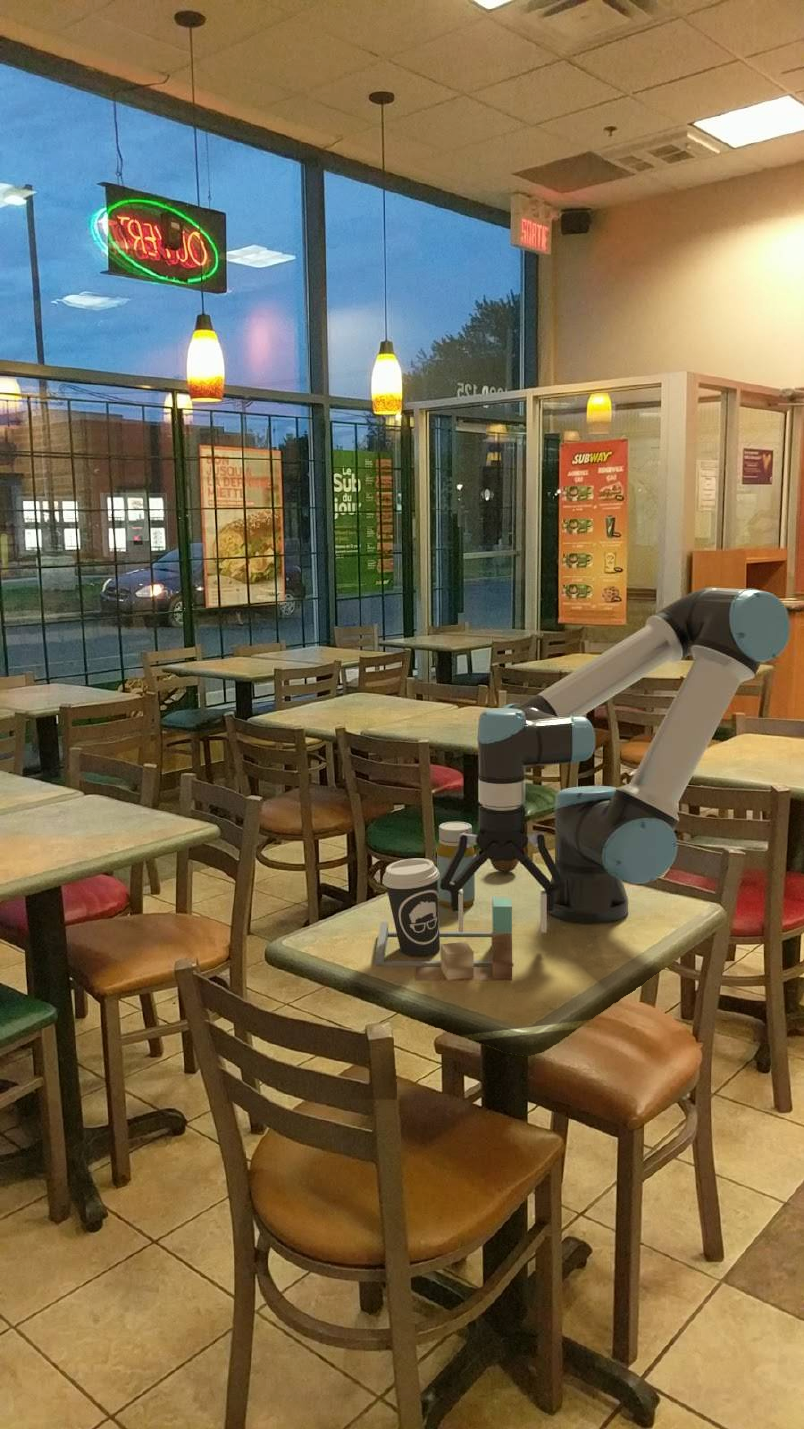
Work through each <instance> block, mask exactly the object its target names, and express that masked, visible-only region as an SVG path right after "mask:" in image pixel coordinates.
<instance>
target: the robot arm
mask: <svg viewBox="0 0 804 1429" xmlns="http://www.w3.org/2000/svg"><path fill="white" fill-rule="evenodd" d="M790 636H791V620H790V618H789V612H788V609H787V607H786V606H785V604H784V602H782V600H781V599H780V598H779V597H777V595H775V594H773V593H771V592H769V591H764V590H759V589H757V588H743V589H742V588H725V587H719V586H717V587H716V586H715V587H714V586H713V587H711V586H709V587H706V588H701V589H698V590H696V591H693V592H690V593H688V594H686V595H685V596H683V597H681V598H678V599H677V600H675V601H674V602H671V603H670V604H668V605H667V606H665V607H664V608H662V609H661V610H659V611H657V612H655V613H654V614H652V615H651V616H649V617H648V618H647V619H646V621H645V625H644V627H641V628H640V629H639V630H637V631H635V632H634V633H633V634H631V635H630V636H628V637H626V638H625V639H622V641H620V642H618V643H617V644H615V645H614V646H611V648H609V649H607V650H606V651H603V653H601V654H599V655H598V656H596V657H595V658H593V659H591V660H590V661H588V662H587V663H585V664H583V665H581V667H579V668H577V669H576V670H574V671H572V672H570V674H568V675H566V676H564V677H563V678H562V679H560V680H558V681H557V682H555V683H553V684H551V685H550V686H549V687H547V688H546V689H544V690H542V691H541V692H539V693H538V694H536V695H535V696H533V697H531V698H530V699H528V700H526V701H525V702H523V703H518V702H517V703H508V704H506V705H504V706H502V707H498V708H495V707H494V708H489V709H485V710H484V711H483V712H481V713H480V715H479V717H478V724H477V725H478V726H477V737H476V738H477V740H476V741H477V748H478V749H477V750H478V751H477V752H478V758H477V759H478V784H477V785H478V789H477V790H478V794H477V795H478V803H479V804H480V805H479V806H478V831H477V834H473V833H472V834H467V833H466V832H464V831H463V832H461V833H460V838H459V845H458V847H457V849H456V851H455V853H454V855H453V857H452V859H451V861H450V863H449V865H448V867H447V869H446V871H445V873H444V875H443V877H442V879H441V881H440V888H441V889H442V890H448V891H449V892H450V893H451V911H452V912H457V913H458V917H457V918H458V932H464V907H463V889H461V888H462V887H463V886H464V885H465V884H466V882H467V881H468V880H469V879H470V878H471V877H472V876H473V874H474V873H477V871H478V870H479V868H480V867H482V866H483V865H485V863H486V862H487V861H488V860H490V861H491V860H492V861H493V862H498V861H501V860H503V861H507V862H512V860H514V859H516V858H517V859H518V863H520V864H521V865H523V867H524V868H525V869H526V870H527V871H528V873H529V874H530V875H531V876H532V877H533V878H534V879H535V880H536V882H537V883H538V884H539V885H540V886H541V887H542V888H540V930H541V933H547V926H548V925H547V918H548V917H547V915H548V914H549V915H550V916H551V917H554V918H557V919H558V920H562V921H567V922H571V923H577V924H578V923H579V924H603V923H605V924H606V923H610V922H615V921H618V920H621V919H623V918H625V917H626V916H627V915H628V913H629V898H628V895H627V891H626V888H625V885H624V883H623V882H624V881H625V882H627V883H631V884H634V885H635V884H637V885H638V884H639V885H640V884H641V885H642V884H646V883H650V882H653V881H656V880H658V879H659V878H661V877H662V876H664V875H665V873H667V871H669V869H670V868H671V867H672V865H673V863H674V862H675V860H676V856H677V854H678V848H679V847H678V844H677V840H678V838H677V835H676V833H675V829H676V827H677V826H678V823H679V821H680V817H679V815H678V814H679V813H678V811H677V806H678V803H679V802H680V800H681V798H682V796H683V794H684V792H685V790H686V788H687V786H688V785H689V782H690V781H691V779H692V776H694V773H695V771H696V769H697V767H698V766H699V763H700V761H701V760H702V757H703V756H704V754H705V752H706V750H707V748H708V746H709V744H710V742H711V740H712V738H713V737H714V735H715V733H716V730H717V729H718V727H719V725H720V724H721V721H722V719H723V717H724V716H725V713H726V712H727V709H728V708H729V706H730V704H731V702H732V700H733V698H734V697H735V695H736V692H737V691H738V688H739V686H740V685H741V683H743V682H747V681H749V680H752V679H754V678H755V676H756V674H757V672H758V670H759V669H760V667H761V665H762V663H765V662H768V661H771V660H772V659H776V658H777V657H779V656H780V655H781V654H782V653H783V651H784V650H785V649H786V647H787V646H788V643H789V640H790ZM691 655H692V658H693V662H692V664H691V666H690V668H689V670H688V671H687V673H686V676H685V677H684V679H683V681H682V683H681V685H680V686H679V688H678V690H677V692H676V694H675V696H674V698H673V700H672V702H671V704H670V706H669V708H668V710H667V712H666V713H665V714H664V715H665V716H664V717H663V719H662V721H661V723H660V725H659V727H658V729H657V731H656V732H655V734H654V736H653V738H652V740H651V742H650V744H649V746H648V748H647V750H646V752H645V754H644V756H643V757H642V759H641V761H640V764H639V765H638V766H637V769H636V770H635V772H634V775H633V776H632V778H631V780H630V782H629V783H628V784H625V785H621V786H619V787H615V786H607V785H587V786H585V785H583V786H573V787H567V788H563V789H561V790H559V791H558V792H557V794H556V796H555V803H554V809H553V811H554V860H553V857H552V856H551V854H550V853H549V850H548V848H547V847H546V839H545V834H544V832H543V831H541V830H537V832H536V833H529V834H527V833H526V807H525V806H524V804H525V803H526V767H535V766H549V765H550V766H551V765H561V764H562V765H563V764H572V765H573V764H574V763H578V762H585V761H587V760H589V759H590V758H592V755H593V754H594V753H595V752H594V751H595V749H596V733H595V728H594V726H593V724H592V722H591V721H590V720H589V719H588V718H587V717H585V715H586V714H587V713H589V712H590V711H593V710H594V709H595V708H597V707H599V706H600V705H602V704H603V703H605V702H607V701H608V700H610V699H611V698H613V697H614V696H616V695H617V694H619V693H620V692H622V691H624V690H625V689H627V688H629V687H631V685H633V684H635V683H636V682H638V681H640V680H641V679H643V678H645V677H646V676H647V675H649V674H650V673H652V672H654V671H655V670H657V669H658V668H660V667H661V666H663V665H665V664H666V663H669V662H670V663H678V662H680V661H682V660H684V659H685V658H687V657H688V656H691ZM474 843H476V845H478V847H479V848H480V850H478V851H477V853H476V854H475V855H474V859H473V860H472V861H471V862H470V863H469V864H468V865H467V867H466V868H465V869H464V870H463V871H462V872H461V873H460V875H459V876H458V877H457V878H456V879H455V880H454V882H451V880H452V878H453V876H454V874H455V872H456V870H457V868H458V866H459V864H460V862H461V860H462V858H463V856H464V854H465V851H466V848H469V847H471V845H473V844H474ZM528 843H531V844H532V846H533V848H538V852H539V854H540V856H541V858H542V860H543V862H544V864H545V866H546V868H547V870H548V872H549V873H550V875H551V878H550V880H549V879H548V877H547V876H546V875H545V874H544V873H543V871H542V870H540V868H539V867H538V866H537V865H536V863H534V862H533V860H532V859H531V858H530V857H529V856H528V854H527V853H526V852H525V850H524V849H525V847H526V846H527V845H528ZM547 913H548V914H547Z"/></svg>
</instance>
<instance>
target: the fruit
mask: <svg viewBox="0 0 804 1429" xmlns="http://www.w3.org/2000/svg"><path fill="white" fill-rule="evenodd" d="M490 863H491V865H492V867H493V868H494V869H495V871H498V872H500V873H501V874H507V873H510V872H511V871H513V870H515V868H517V866H518V864H519V861H518V859H517V858H516V859H514V860H512V862H507V861H503V860H501V861H498V862H493V861H492V860H490Z"/></svg>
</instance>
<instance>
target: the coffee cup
mask: <svg viewBox="0 0 804 1429" xmlns="http://www.w3.org/2000/svg"><path fill="white" fill-rule="evenodd" d="M439 877H440V873H439V871H438V869H437V866H435V863H434V862H433V860H431V859H428V858H421V857H420V858H417V857H416V858H414V857H413V858H407V859H402V860H398V861H395V862H392V863H389V865H387V866H386V867H385V873H384V874H383V877H382V885H383V886H385V889H386V892H387V896H388V901H389V904H390V910H391V914H392V919H393V924H394V927H395V932H397V936H396V937H397V942H398V945H399V949H400V953H402V954H403V955H404V956H407V957H411V958H427V957H432V956H436V955H437V954H438V953H439V952H441V945H440V944H441V943H440V942H441V939H440V938H441V936H439V932H440V917H439V916H440V913H439V912H440V911H439V910H440V908H439V901H438V879H439Z"/></svg>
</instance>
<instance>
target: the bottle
mask: <svg viewBox="0 0 804 1429" xmlns="http://www.w3.org/2000/svg"><path fill="white" fill-rule="evenodd" d="M463 831H464V832H466V833H467V834H473V826H472V824H470V823H469V822H464V821H447V822H442V823H441V824H440V825H438V837H439V839H438V841H439V842H438V846H437V849H436V863H437V864H436V868H437V869H438V871H439V873H440V877H439V879H438V903H439V904H440V905H441V906H442V907H446V908H449V909H450V908H451V893H450V892H449V891H448V890H442V889H441V888H440V881H441V879H442V877H443V875H444V873H445V871H446V869H447V867H448V865H449V863H450V861H451V859H452V857H453V855H454V853H455V851H456V849H457V847H458V845H459V838H460V833H461V832H463ZM474 857H475V848H474V845H473V844H472V845H471V847H469V848H466V851H465V854H464V856H463V858H462V860H461V862H460V864H459V866H458V868H457V870H456V872H455V874H454V876H453V878H452V880H451V882H454V880H455V879H456V878H457V877H458V876H459V875H460V873H461V872H462V871H463V870H464V869H465V868H466V867H467V865H468V864H469V863H470V862H471V861H472V860H473V859H474ZM475 873H476V872H475ZM475 873H474V874H473V876H472V877H471V878H470V879H469V880H468V881H467V882H466V884H465V885H464V886H463V887H462V888H461V889H463V908H466V907H470V906H471V905H472V904H473V903H474V901H475V897H476V891H475V890H476V889H475V888H476V887H475V882H476V880H475V879H476V877H475V876H476V875H475Z"/></svg>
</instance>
